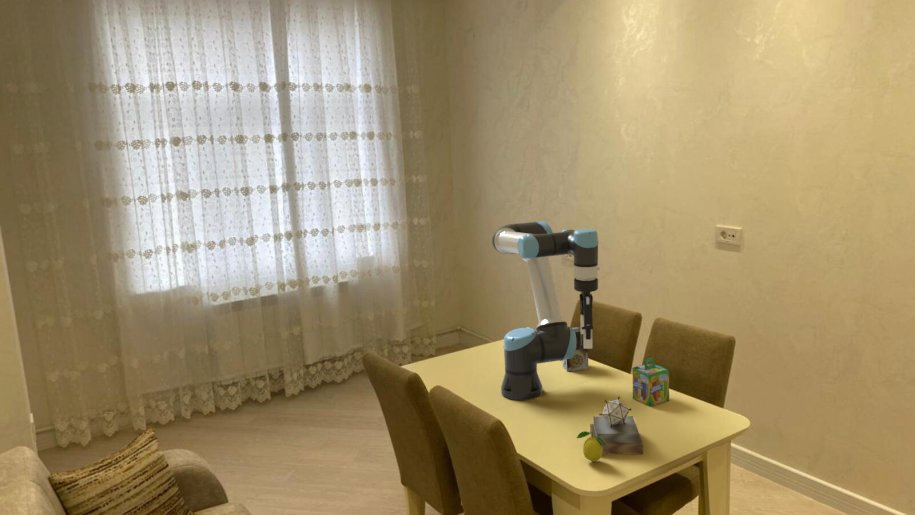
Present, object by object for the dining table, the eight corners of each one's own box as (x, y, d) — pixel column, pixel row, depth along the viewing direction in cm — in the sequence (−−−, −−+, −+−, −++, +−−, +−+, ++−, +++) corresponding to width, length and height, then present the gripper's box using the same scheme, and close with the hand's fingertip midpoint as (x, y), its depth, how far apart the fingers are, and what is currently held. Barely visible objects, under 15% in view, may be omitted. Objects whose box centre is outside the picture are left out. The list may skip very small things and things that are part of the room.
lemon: (577, 459, 194) (576, 427, 192) (593, 454, 196) (593, 423, 195) (591, 469, 188) (590, 436, 186) (607, 464, 190) (607, 431, 189)
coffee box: (583, 364, 272) (582, 325, 269) (588, 369, 266) (587, 330, 263) (561, 366, 271) (560, 328, 268) (566, 371, 264) (565, 332, 262)
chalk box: (650, 407, 227) (650, 365, 224) (631, 398, 235) (631, 358, 232) (670, 401, 231) (670, 360, 228) (651, 392, 239) (651, 353, 237)
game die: (621, 437, 201) (633, 420, 194) (594, 428, 202) (605, 410, 195) (624, 413, 208) (636, 395, 201) (598, 404, 208) (608, 386, 201)
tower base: (594, 454, 197) (594, 435, 196) (590, 433, 210) (589, 415, 209) (643, 454, 195) (642, 434, 194) (635, 432, 209) (635, 414, 208)
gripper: (601, 287, 200) (601, 354, 205) (594, 268, 225) (594, 328, 229) (576, 288, 201) (577, 354, 206) (571, 268, 226) (572, 328, 230)
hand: (586, 340), depth 218 cm, fingers open, 13 cm apart
